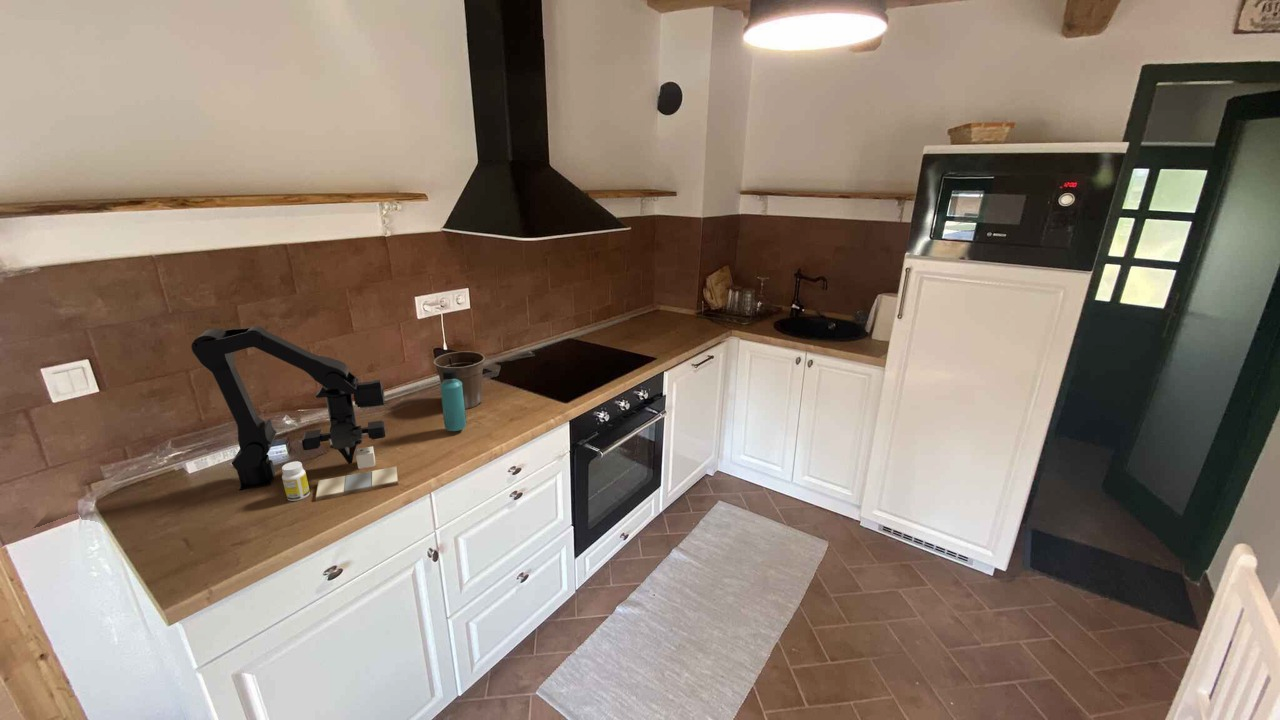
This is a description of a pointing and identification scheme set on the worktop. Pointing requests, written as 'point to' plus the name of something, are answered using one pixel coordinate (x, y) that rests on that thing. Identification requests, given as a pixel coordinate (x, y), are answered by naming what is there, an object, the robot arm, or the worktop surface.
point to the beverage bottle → (452, 401)
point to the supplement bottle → (295, 481)
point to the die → (365, 457)
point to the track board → (356, 483)
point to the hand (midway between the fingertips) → (350, 463)
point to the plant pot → (464, 373)
